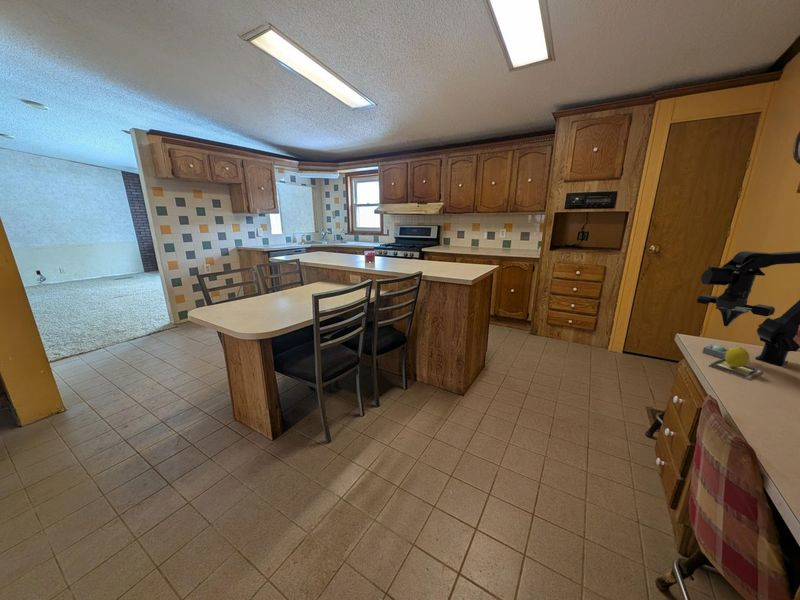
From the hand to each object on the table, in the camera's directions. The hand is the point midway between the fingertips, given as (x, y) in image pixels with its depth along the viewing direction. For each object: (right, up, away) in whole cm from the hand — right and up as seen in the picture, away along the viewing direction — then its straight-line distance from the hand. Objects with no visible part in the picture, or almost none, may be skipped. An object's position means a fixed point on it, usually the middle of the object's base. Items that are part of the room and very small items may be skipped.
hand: (725, 326), depth 110 cm
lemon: (-6, -14, -8) cm, 17 cm away
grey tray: (-5, -15, -7) cm, 17 cm away
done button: (0, -11, +3) cm, 12 cm away
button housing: (0, -11, +3) cm, 12 cm away
